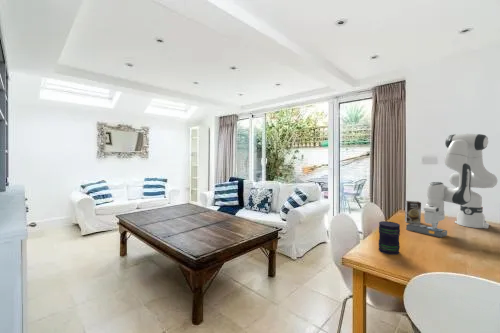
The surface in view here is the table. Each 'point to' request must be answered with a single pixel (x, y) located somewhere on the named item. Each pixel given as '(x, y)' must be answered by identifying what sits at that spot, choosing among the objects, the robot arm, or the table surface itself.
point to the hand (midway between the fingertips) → (434, 228)
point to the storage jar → (389, 237)
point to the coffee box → (413, 212)
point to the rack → (425, 230)
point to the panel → (435, 229)
